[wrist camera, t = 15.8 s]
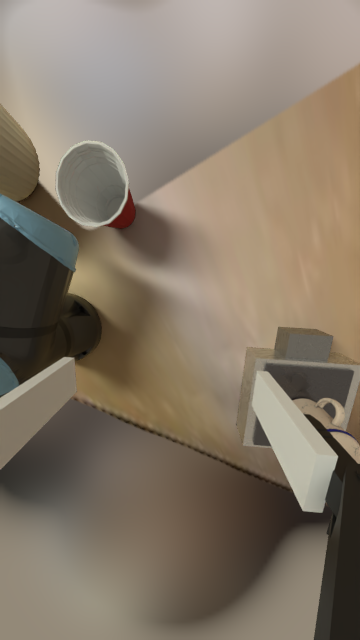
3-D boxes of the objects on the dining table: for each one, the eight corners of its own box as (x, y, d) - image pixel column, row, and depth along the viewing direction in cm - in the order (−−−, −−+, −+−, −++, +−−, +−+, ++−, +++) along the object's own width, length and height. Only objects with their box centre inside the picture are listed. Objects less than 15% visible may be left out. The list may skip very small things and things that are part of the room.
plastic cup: (101, 172, 37) (60, 124, 25) (154, 193, 37) (138, 154, 26) (87, 230, 39) (43, 210, 28) (137, 249, 40) (116, 238, 28)
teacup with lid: (310, 441, 40) (358, 507, 28) (268, 428, 40) (300, 489, 28) (339, 391, 37) (405, 442, 26) (294, 377, 37) (341, 422, 26)
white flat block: (236, 424, 47) (243, 448, 41) (249, 325, 42) (260, 333, 36) (320, 431, 47) (341, 456, 40) (345, 331, 41) (374, 341, 35)
